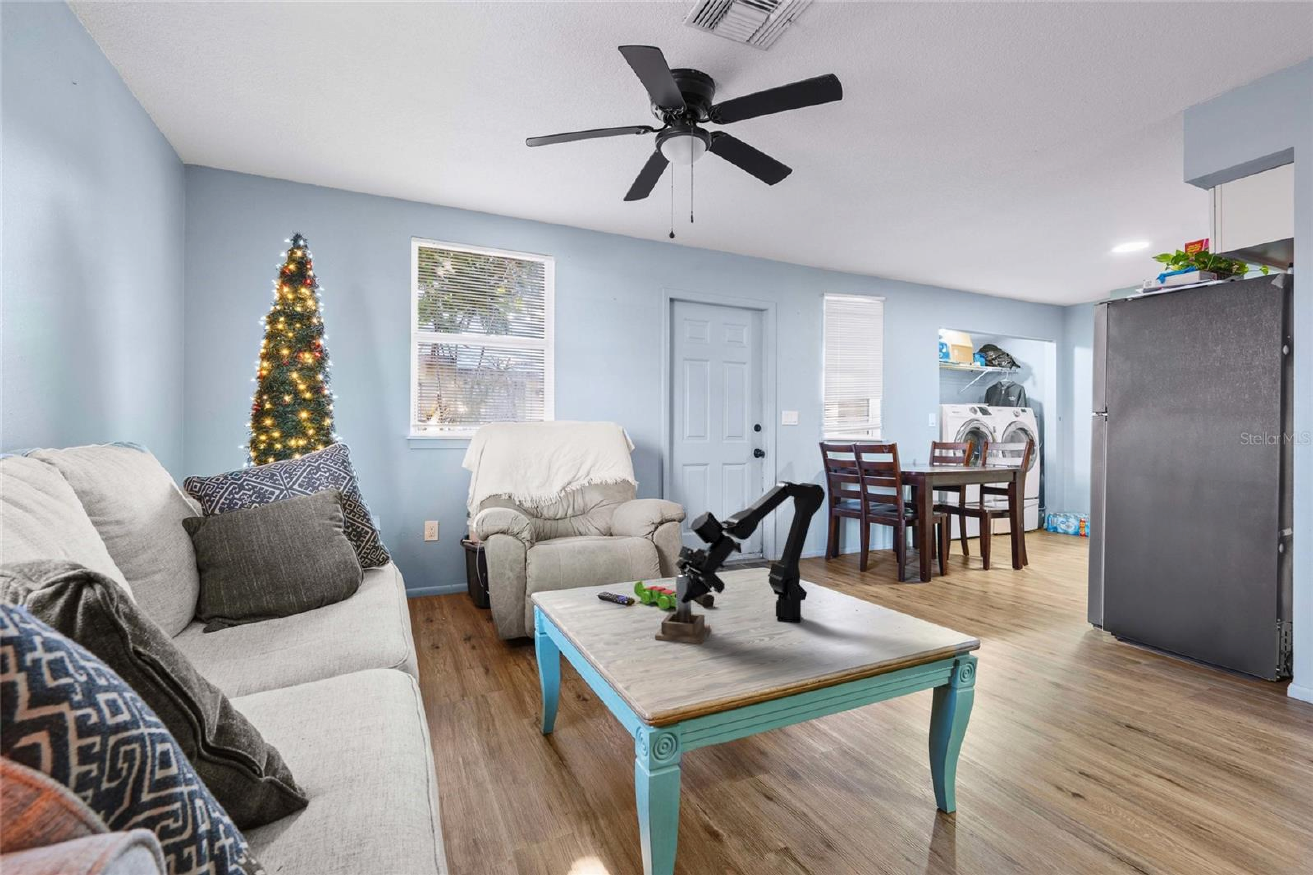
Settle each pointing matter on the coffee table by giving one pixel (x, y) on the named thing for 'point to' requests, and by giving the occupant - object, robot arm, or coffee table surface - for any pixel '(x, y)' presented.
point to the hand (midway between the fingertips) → (679, 600)
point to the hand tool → (706, 600)
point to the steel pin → (681, 588)
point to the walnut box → (683, 629)
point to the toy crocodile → (655, 595)
